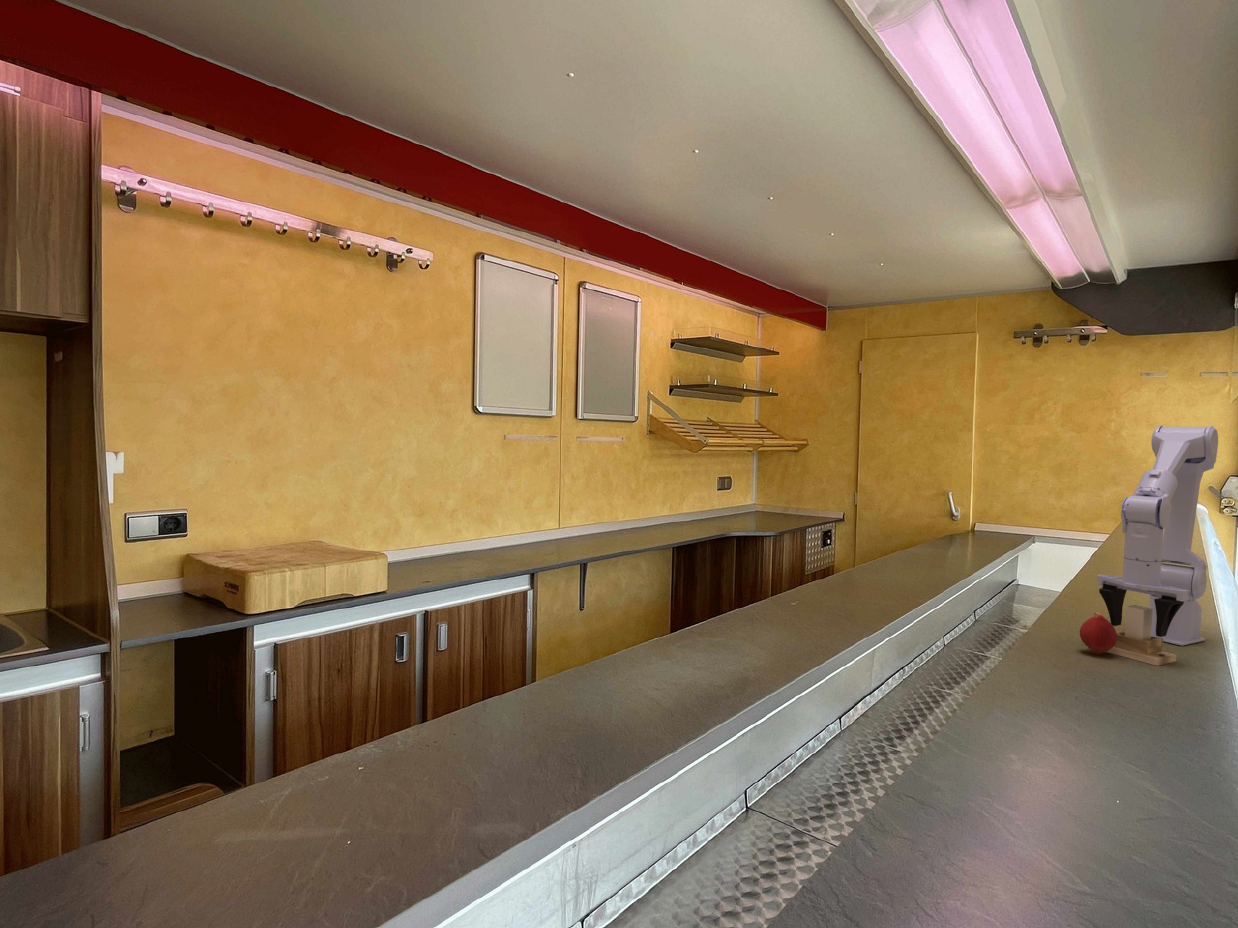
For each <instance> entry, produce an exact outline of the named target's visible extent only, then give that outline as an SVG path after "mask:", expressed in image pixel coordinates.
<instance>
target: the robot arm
mask: <svg viewBox="0 0 1238 928" xmlns="http://www.w3.org/2000/svg"><path fill="white" fill-rule="evenodd" d="M1218 449H1219V433H1218V430H1217V429H1216V428H1215V427H1214V426H1213V425H1208V426H1163V425H1158V426H1156V428H1154V429H1153V431H1152V435H1151V450H1152V452H1153V454H1154V456H1155V460H1154V464H1153V467H1152V469H1149V470H1147V471H1145V472H1144V473H1143V474H1142V476H1141V477H1140V480H1139V482H1138V484H1137V485H1136V488H1135V490H1134V492H1133V494H1132V495H1129V497H1124V498H1123V500H1122V503H1121V508H1120V517H1121V523H1122V529H1121V530H1122V533H1123V534H1124V545H1123V546H1124V547H1123V561H1122V562H1123V563H1122V565H1123V566H1122V576H1114V575H1107V574H1098V575H1097V576H1096V585H1097V586H1101V588H1099V589H1098V592H1099V594H1100V596H1101V597H1102V599H1103V601H1104V603H1105V607H1106V608H1107V611H1108V615H1109V619H1110V623H1111V624H1112V625H1113V627H1116V626H1117V627H1118V626H1121V625H1122V621H1123V606H1124V603H1125V598H1126V594H1127V591H1130V592H1135V593H1141V594H1146V595H1149V605H1148V608H1152V609H1153V611H1152V627H1151V636H1154V637H1158V638H1162V639H1163V643H1164V642H1165V643H1170V644H1173V645H1178V646H1186V645H1190V644H1196V643H1200V642H1204V641H1206V638H1205V637H1201V626H1202V625H1201V624H1202V607H1201V604H1200V602H1198V601H1197V599H1200V598H1201V597H1203V596H1204V595H1205V592H1206V588H1207V581H1208V580H1207V579H1208V577H1207V565H1206V562H1205V561H1204V560H1203V559H1202V558H1201V557H1200V556H1199V555H1197V554H1196V553H1194V551H1193V550H1192V547H1193V546H1192V545H1193V538H1194V531H1195V530H1194V529H1195V522H1196V516H1197V515H1196V514H1197V509H1198V500H1199V493H1200V486H1201V481H1202V478H1203V476H1204V473H1205V472H1207V471H1210V470H1213V469H1214V468H1215V464H1216V461H1217V456H1218V455H1217V454H1218Z"/></svg>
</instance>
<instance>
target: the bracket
mask: <svg viewBox="0 0 1238 928" xmlns="http://www.w3.org/2000/svg"><path fill="white" fill-rule="evenodd" d="M1116 633H1117V642H1116V644H1115V645H1114V647H1113V648H1111V649H1110V650H1108V651H1106V652H1105V653H1109V654H1113V655H1117V656H1120V657H1124V658H1128V659H1131V660H1135V661H1137V662H1141V663H1142V662H1143V663H1146V664H1149V665H1154V666H1156V667H1157V666H1162V665H1166V664H1169V663H1170V664H1171V663H1175V662H1177V654H1174V653H1170V652H1166V651H1163V645H1164V641H1163V639H1162V638H1158V637H1154V636H1151V640H1146V641H1143V640H1139V639H1135V638H1131V637H1127V636H1124V634H1125V631H1121V632H1116Z"/></svg>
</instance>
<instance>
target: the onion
mask: <svg viewBox="0 0 1238 928" xmlns="http://www.w3.org/2000/svg"><path fill="white" fill-rule="evenodd" d="M1093 614H1094V616H1093V617H1090V618H1089V619H1087V620H1085V621H1084V622H1083V623H1082V624H1081V625H1080V629H1079V637H1080V640H1081V642H1082V643H1083V644H1084V645H1085V647H1087V648H1088V649H1090V650H1091V652H1092V653H1093V654H1095V655H1101V654H1103V653H1107V652H1106V651H1108V650H1110V649H1111V648H1113V647H1114V645H1115V644H1116V642H1117V633H1118V632H1117V630H1116V628H1115V626H1113V625H1112V624H1111V621H1109V620H1108V619H1107V618H1105V617H1104V616H1103V615H1102V614H1101V612H1097V611H1096V612H1094V613H1093Z"/></svg>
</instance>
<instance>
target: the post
mask: <svg viewBox="0 0 1238 928" xmlns="http://www.w3.org/2000/svg"><path fill="white" fill-rule="evenodd" d="M1152 611H1153V609H1152V608H1149V607H1146V606H1141V605H1137V604H1133V605H1132V604H1131V605H1127V606H1125V618H1124V619H1125V620H1124V621H1125V622H1124V632H1125V634H1124V636H1127V637H1131V638H1135V639H1139V640H1143V641H1146V640H1151V627H1152Z"/></svg>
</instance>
